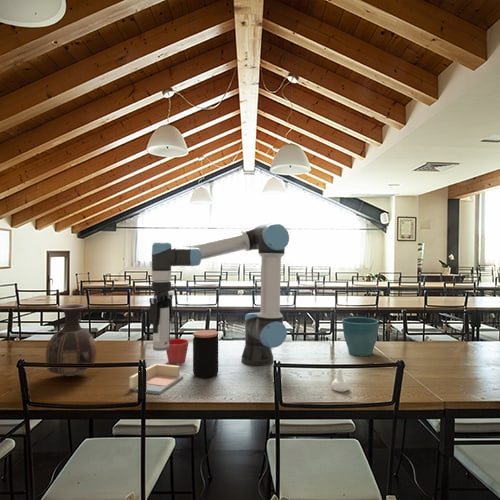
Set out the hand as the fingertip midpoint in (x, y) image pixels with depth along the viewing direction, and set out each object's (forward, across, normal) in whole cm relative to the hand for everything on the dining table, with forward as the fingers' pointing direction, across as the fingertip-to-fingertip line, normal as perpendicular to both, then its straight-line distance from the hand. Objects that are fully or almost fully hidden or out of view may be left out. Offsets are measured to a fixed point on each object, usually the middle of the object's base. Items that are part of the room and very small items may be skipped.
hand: (161, 339), depth 152 cm
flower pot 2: (+18, -70, +74) cm, 103 cm away
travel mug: (+4, 0, 0) cm, 4 cm away
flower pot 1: (+18, -28, -8) cm, 34 cm away
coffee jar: (+18, -15, +13) cm, 26 cm away
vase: (+18, +5, -39) cm, 44 cm away
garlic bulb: (+18, -15, +68) cm, 72 cm away
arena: (+18, +1, -1) cm, 18 cm away
